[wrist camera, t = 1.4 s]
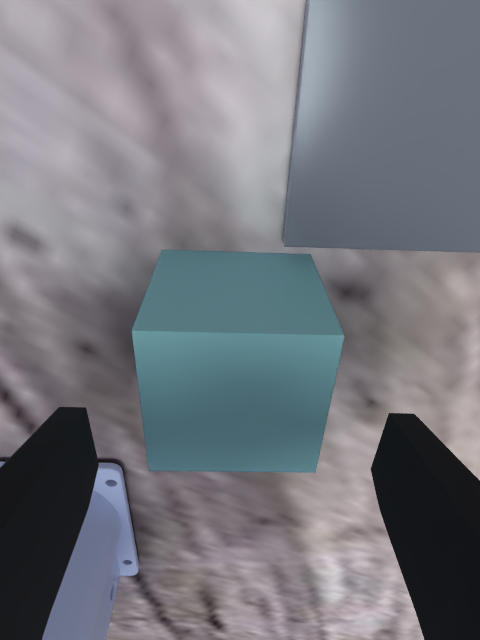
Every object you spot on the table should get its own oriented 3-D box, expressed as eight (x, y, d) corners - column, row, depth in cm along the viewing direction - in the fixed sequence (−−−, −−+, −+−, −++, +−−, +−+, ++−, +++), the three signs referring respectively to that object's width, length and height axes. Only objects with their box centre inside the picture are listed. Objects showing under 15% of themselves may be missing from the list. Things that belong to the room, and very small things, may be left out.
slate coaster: (488, 246, 14) (498, 252, 13) (282, 239, 13) (284, 246, 13) (592, -23, 10) (612, -28, 9) (310, -39, 10) (314, -45, 9)
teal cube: (293, 368, 16) (315, 472, 12) (170, 365, 16) (148, 470, 12) (309, 253, 14) (344, 335, 10) (162, 248, 14) (131, 330, 9)
